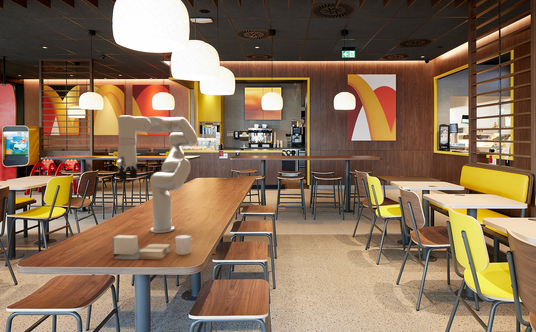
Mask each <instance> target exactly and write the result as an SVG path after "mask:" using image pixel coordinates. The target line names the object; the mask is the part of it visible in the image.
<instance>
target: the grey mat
mask: <svg viewBox="0 0 536 332" xmlns="http://www.w3.org/2000/svg"><path fill="white" fill-rule="evenodd" d="M143 248H144V247H138V252H137V253H135V254H134V255H130V254H117V255H116V256H115V257H113V260H122V261H123V260H125V261H126V260H127V261H138V260H140V259H139V251H140V250H142V249H143Z"/></svg>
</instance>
